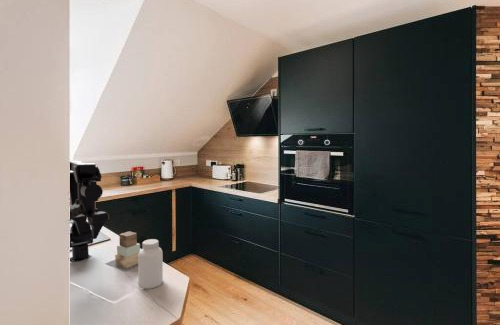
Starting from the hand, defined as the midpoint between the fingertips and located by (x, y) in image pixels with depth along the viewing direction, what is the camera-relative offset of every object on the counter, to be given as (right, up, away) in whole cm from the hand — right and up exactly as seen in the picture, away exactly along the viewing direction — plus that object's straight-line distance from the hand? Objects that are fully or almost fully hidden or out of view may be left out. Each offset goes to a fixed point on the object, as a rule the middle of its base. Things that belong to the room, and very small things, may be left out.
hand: (87, 236), depth 105 cm
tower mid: (+13, -8, +6) cm, 17 cm away
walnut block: (+13, -5, +5) cm, 15 cm away
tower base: (+13, -12, +6) cm, 19 cm away
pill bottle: (+28, -14, -9) cm, 32 cm away
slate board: (+12, -13, +6) cm, 19 cm away
